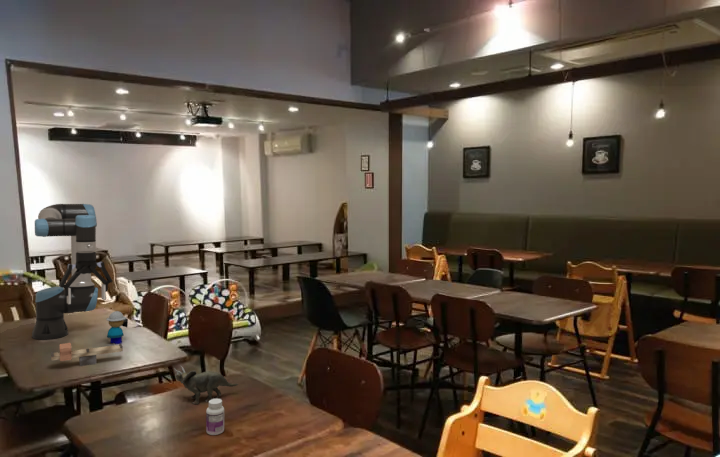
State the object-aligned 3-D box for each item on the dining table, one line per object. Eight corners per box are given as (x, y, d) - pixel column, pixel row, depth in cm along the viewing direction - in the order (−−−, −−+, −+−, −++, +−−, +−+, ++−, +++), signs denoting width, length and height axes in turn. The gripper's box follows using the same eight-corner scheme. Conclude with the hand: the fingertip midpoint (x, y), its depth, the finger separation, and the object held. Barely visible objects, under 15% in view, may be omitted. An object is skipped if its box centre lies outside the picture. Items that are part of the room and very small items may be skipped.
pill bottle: (208, 427, 159) (208, 397, 159) (225, 427, 160) (225, 397, 159) (204, 435, 154) (204, 404, 153) (222, 435, 154) (222, 404, 154)
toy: (130, 341, 245) (130, 310, 244) (114, 346, 237) (114, 314, 236) (117, 338, 249) (117, 308, 248) (102, 343, 241) (101, 312, 240)
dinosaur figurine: (238, 393, 186) (238, 363, 186) (237, 403, 178) (237, 371, 177) (175, 396, 183) (175, 365, 182) (170, 405, 174) (170, 373, 174)
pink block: (60, 361, 205) (59, 348, 205) (59, 355, 211) (59, 344, 211) (71, 359, 207) (71, 347, 207) (70, 354, 213) (70, 342, 213)
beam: (51, 370, 205) (51, 355, 204) (51, 366, 209) (51, 352, 208) (122, 360, 218) (122, 346, 218) (121, 357, 222) (121, 343, 222)
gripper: (55, 254, 205) (56, 306, 206) (120, 250, 222) (120, 299, 224) (50, 252, 210) (50, 303, 211) (113, 249, 227) (114, 296, 229)
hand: (86, 301), depth 217 cm, fingers open, 13 cm apart
